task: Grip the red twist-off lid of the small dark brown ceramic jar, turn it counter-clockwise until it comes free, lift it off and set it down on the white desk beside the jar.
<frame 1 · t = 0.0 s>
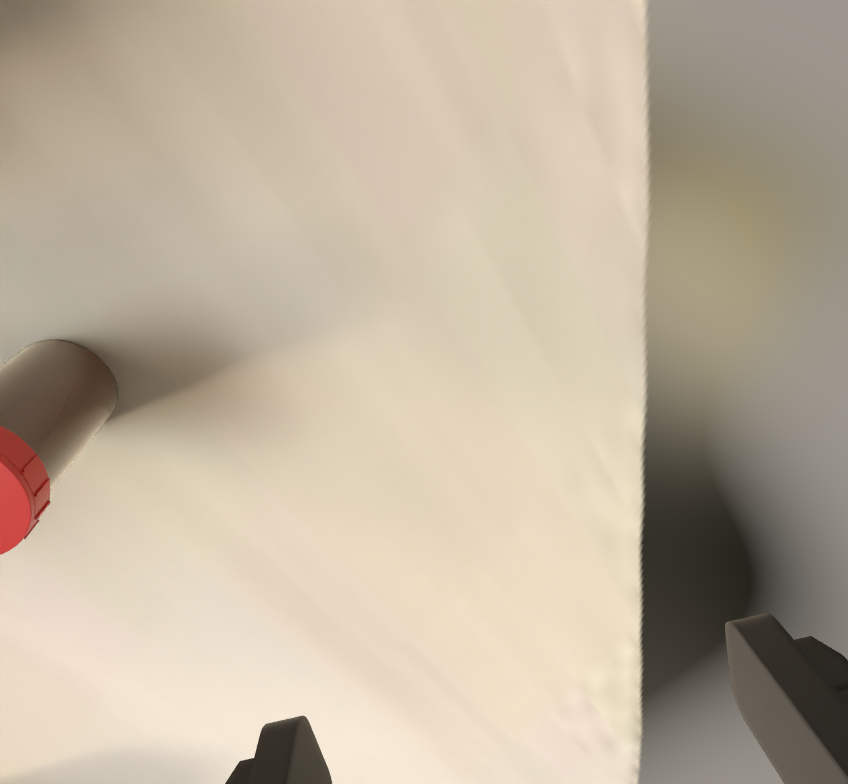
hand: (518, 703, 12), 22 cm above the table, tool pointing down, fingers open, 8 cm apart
jar: (64, 386, 32), on the table
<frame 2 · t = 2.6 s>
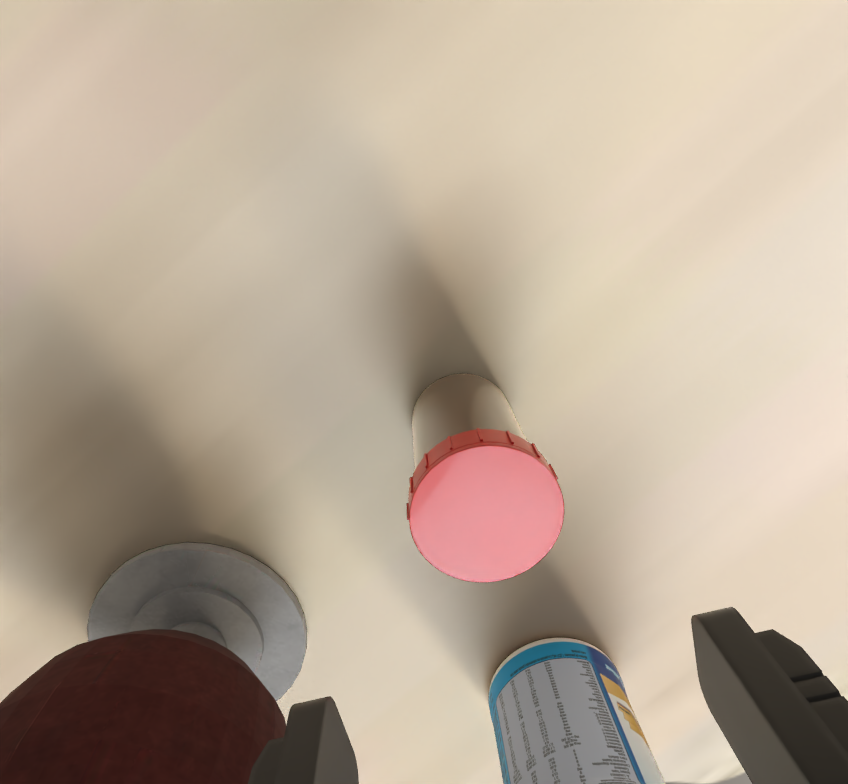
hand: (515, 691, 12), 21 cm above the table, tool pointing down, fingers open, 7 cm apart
mate gourd: (208, 621, 36), on the table
jar: (461, 420, 32), on the table
blue labeled canister: (551, 683, 39), on the table
lid: (486, 512, 23), point 9 cm above the table, screwed on, not yet turned
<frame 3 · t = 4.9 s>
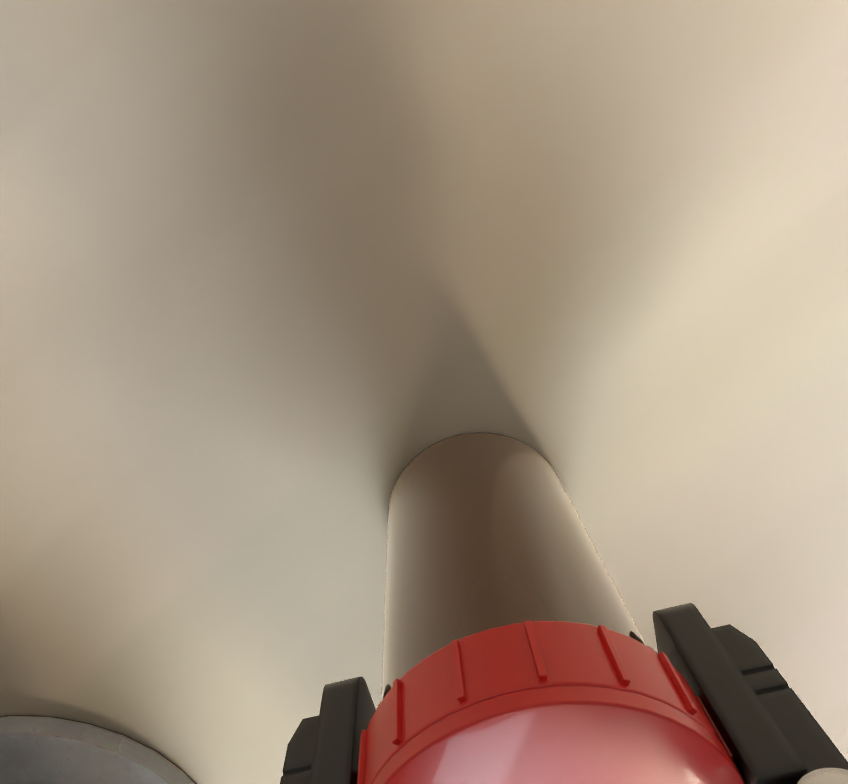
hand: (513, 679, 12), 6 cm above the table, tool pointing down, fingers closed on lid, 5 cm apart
jar: (476, 513, 18), on the table
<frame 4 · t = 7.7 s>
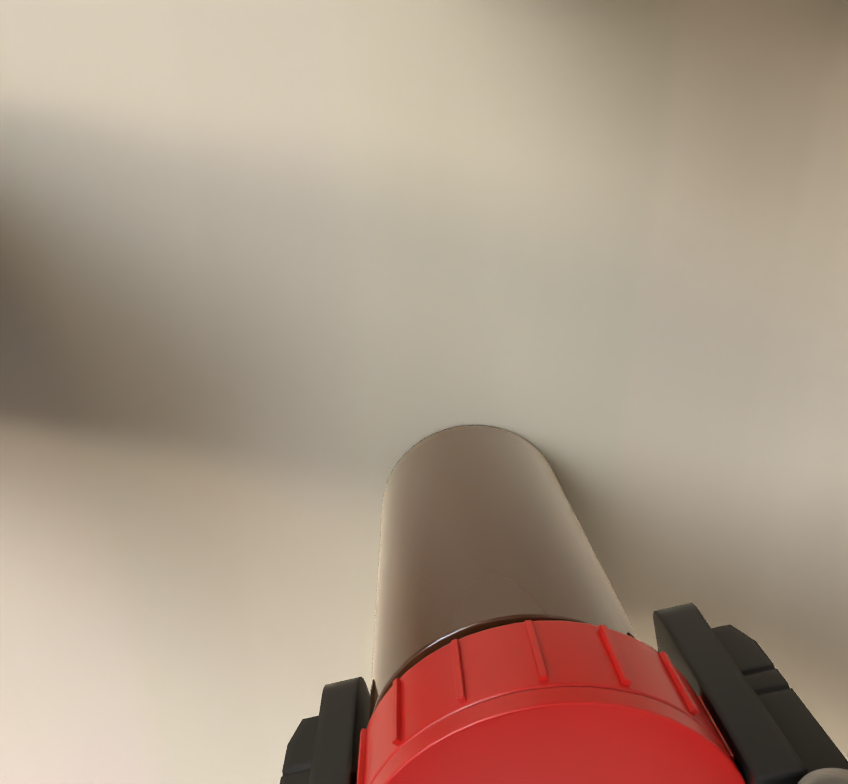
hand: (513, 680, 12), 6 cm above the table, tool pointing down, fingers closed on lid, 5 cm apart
jar: (470, 506, 18), on the table, touching lid
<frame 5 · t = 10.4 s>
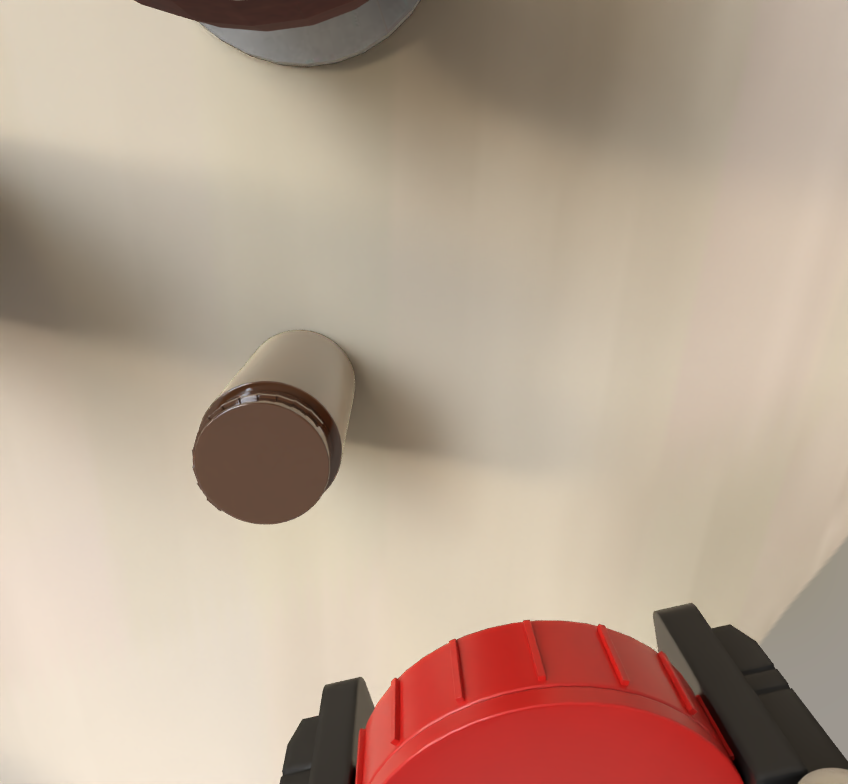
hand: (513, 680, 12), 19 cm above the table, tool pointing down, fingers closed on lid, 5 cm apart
jar: (301, 382, 30), on the table
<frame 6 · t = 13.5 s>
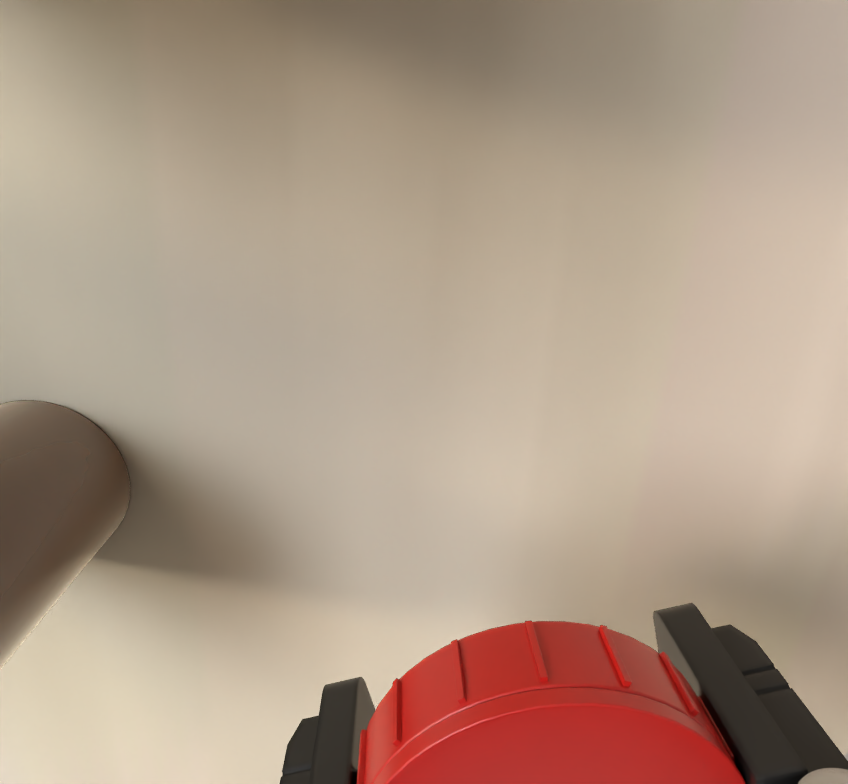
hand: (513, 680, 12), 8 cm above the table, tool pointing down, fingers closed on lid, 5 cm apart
jar: (44, 479, 19), on the table
when the fingers open (0 cm above the table, at t = 16.2 s): lid drops 2 cm, point 1 cm above the table.
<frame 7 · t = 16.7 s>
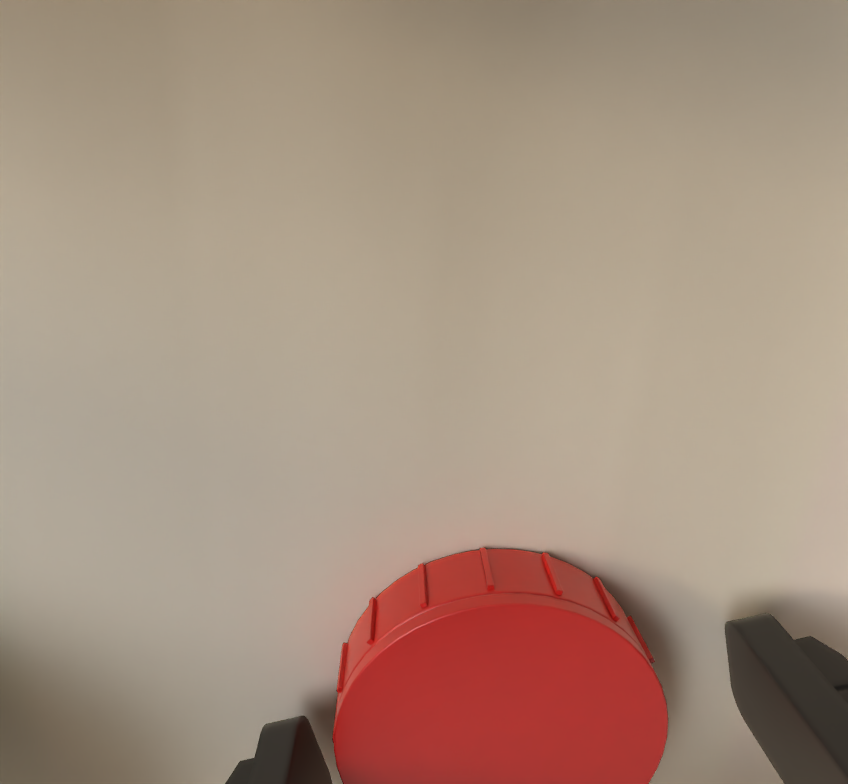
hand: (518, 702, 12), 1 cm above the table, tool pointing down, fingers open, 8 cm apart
lid: (499, 729, 11), point 1 cm above the table, off its thread
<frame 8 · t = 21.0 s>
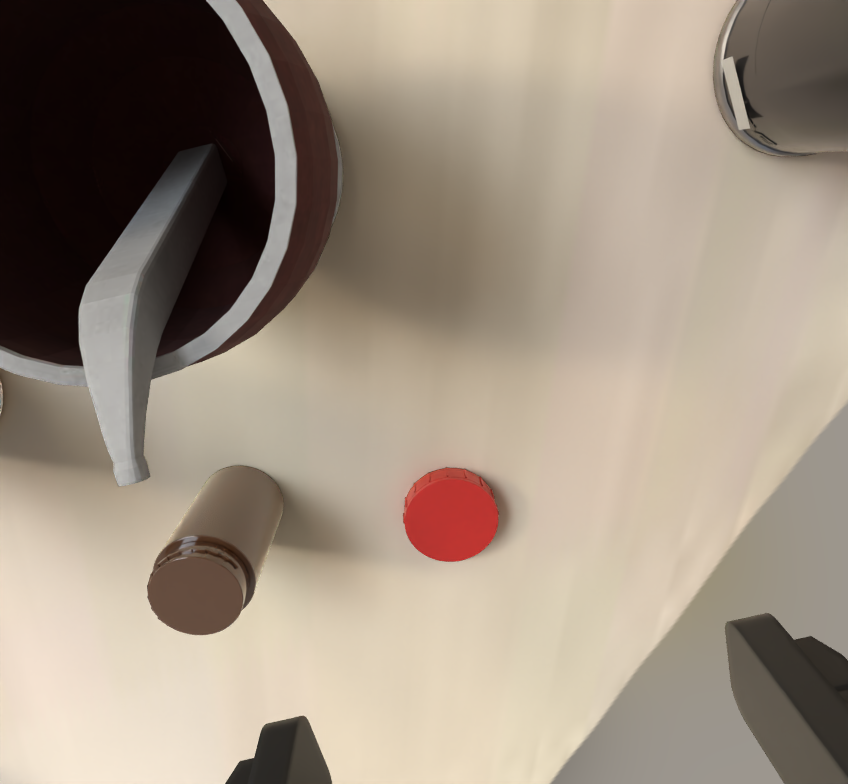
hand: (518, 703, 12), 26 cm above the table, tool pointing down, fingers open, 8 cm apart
mate gourd: (232, 185, 33), on the table
jar: (242, 502, 39), on the table
lid: (451, 519, 39), point 1 cm above the table, off its thread
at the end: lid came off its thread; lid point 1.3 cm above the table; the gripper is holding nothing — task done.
